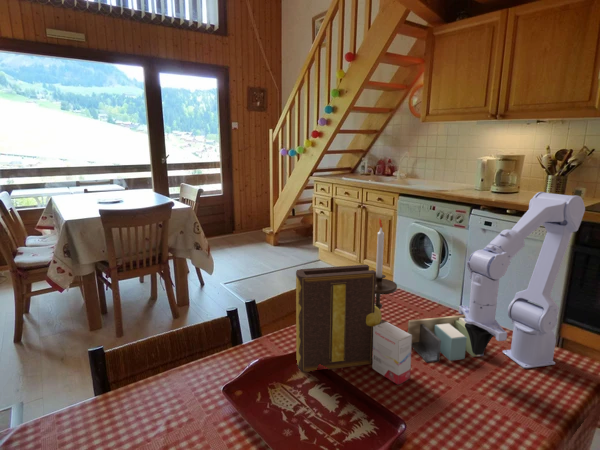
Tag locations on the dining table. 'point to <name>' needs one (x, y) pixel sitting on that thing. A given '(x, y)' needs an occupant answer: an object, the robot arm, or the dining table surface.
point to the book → (335, 316)
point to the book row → (461, 328)
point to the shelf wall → (429, 325)
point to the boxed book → (451, 341)
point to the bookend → (427, 345)
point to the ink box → (392, 352)
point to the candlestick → (381, 284)
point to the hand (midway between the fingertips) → (477, 353)
